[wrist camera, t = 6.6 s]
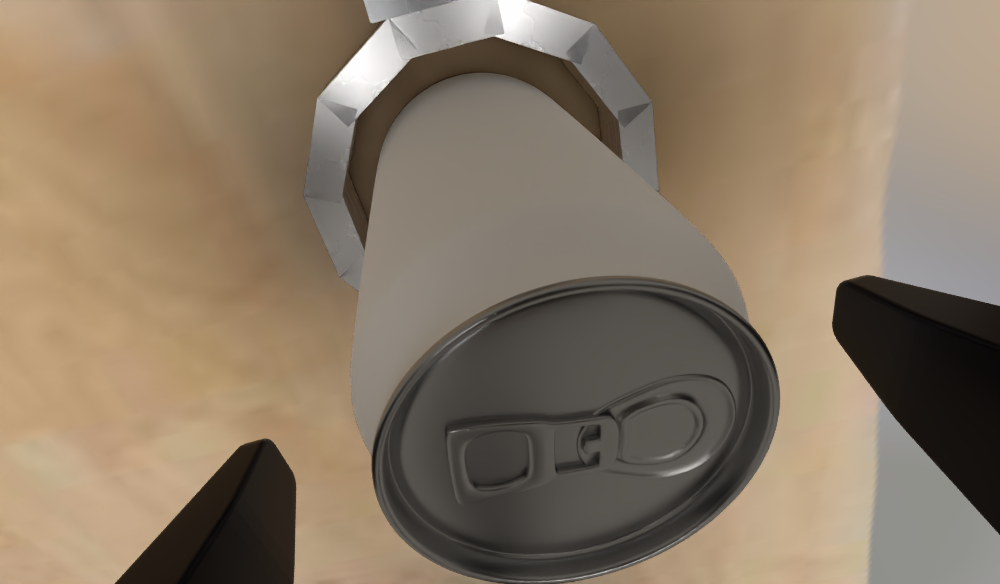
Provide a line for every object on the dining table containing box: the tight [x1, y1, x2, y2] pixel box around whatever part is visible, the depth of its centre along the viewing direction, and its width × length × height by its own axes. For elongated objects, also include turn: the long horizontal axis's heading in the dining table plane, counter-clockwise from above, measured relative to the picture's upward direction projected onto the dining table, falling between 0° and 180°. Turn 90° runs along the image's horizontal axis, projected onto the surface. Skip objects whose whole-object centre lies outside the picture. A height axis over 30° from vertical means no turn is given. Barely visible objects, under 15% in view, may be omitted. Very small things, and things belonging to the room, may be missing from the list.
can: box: [350, 73, 780, 584], centre depth 13 cm, size 6×6×12 cm
